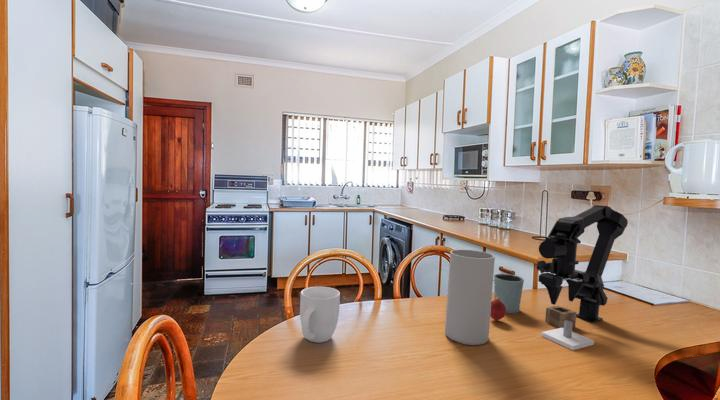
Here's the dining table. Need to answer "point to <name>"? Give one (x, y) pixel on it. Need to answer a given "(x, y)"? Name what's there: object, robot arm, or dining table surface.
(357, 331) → the dining table surface
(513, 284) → the grey-blue tapered cup
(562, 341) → the post base
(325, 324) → the mug
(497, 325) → the dining table surface
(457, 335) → the cylinder vase
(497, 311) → the onion
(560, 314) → the collar
